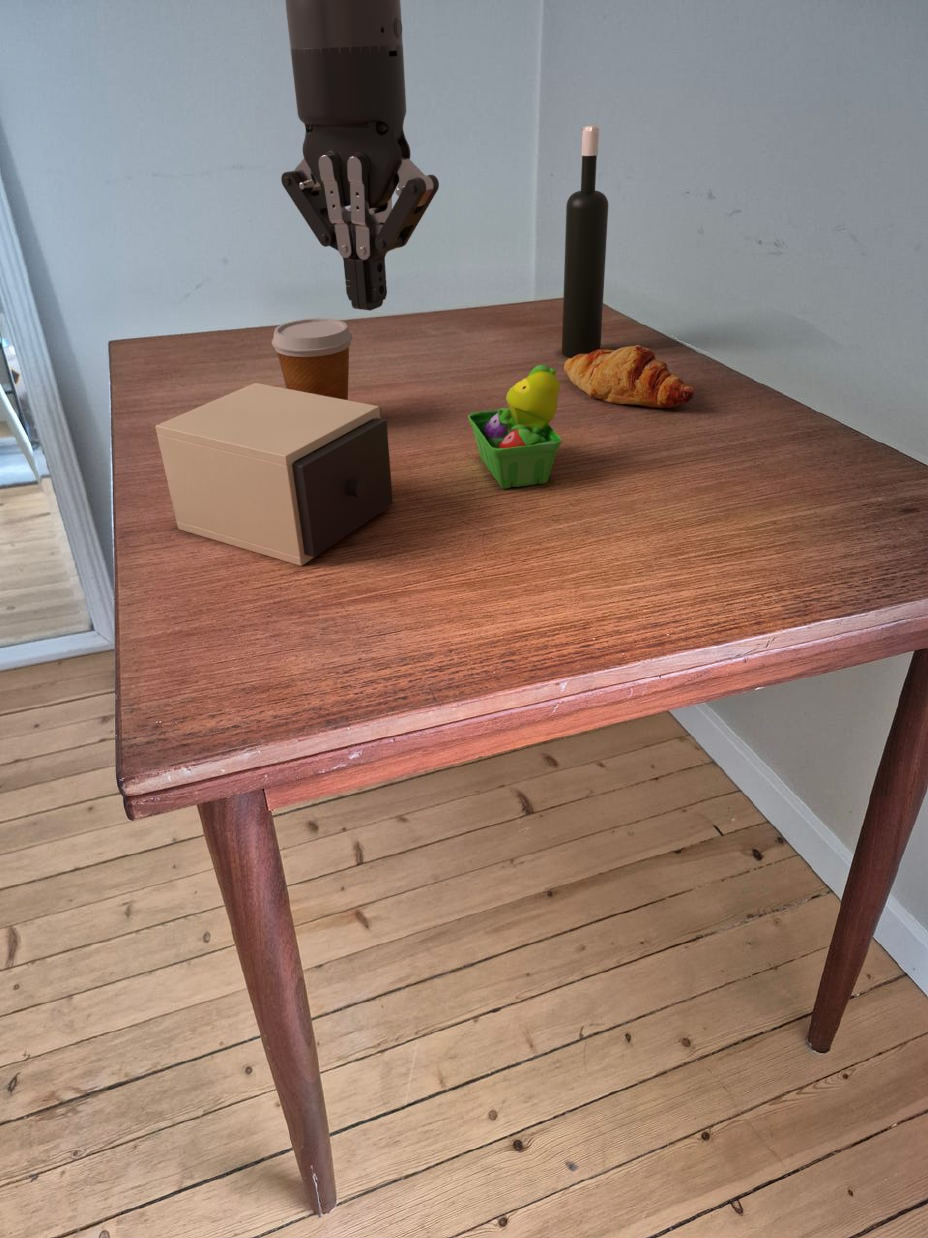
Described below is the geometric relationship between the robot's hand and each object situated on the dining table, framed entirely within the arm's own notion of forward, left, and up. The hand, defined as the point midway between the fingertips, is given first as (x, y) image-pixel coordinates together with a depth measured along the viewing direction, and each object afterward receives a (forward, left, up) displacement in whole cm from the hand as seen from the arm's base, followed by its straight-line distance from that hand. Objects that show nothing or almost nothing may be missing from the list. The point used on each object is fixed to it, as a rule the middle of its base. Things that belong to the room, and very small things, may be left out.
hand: (368, 307), depth 69 cm
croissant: (+28, +45, -23) cm, 58 cm away
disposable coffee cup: (-12, +36, -23) cm, 44 cm away
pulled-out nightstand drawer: (-9, +9, -22) cm, 26 cm away
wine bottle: (+24, +64, -23) cm, 72 cm away
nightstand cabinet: (-12, +10, -23) cm, 28 cm away
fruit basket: (+12, +21, -23) cm, 34 cm away
